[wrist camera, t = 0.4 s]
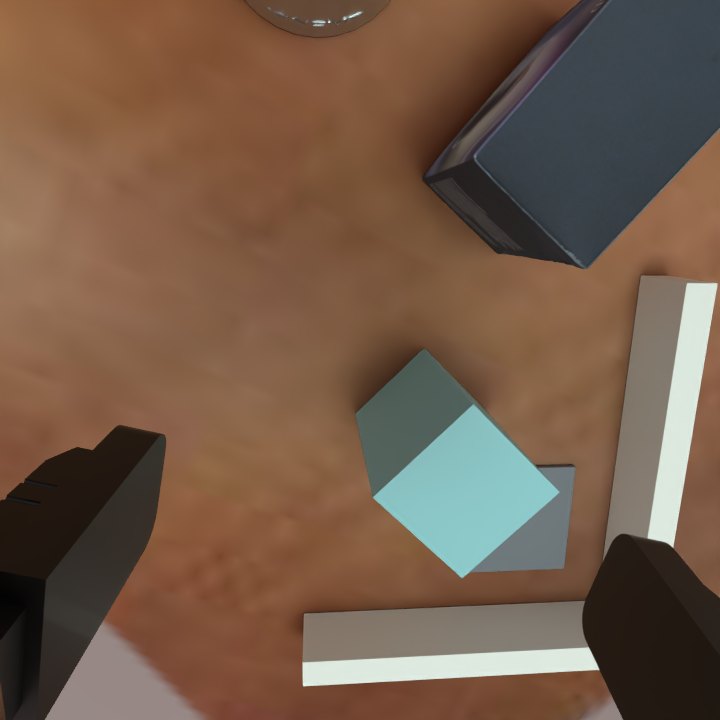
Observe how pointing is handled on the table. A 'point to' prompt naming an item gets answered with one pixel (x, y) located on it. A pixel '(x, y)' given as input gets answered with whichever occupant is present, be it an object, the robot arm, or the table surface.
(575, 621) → the white l-shaped bracket
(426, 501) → the teal block
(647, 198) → the small box
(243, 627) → the table surface
